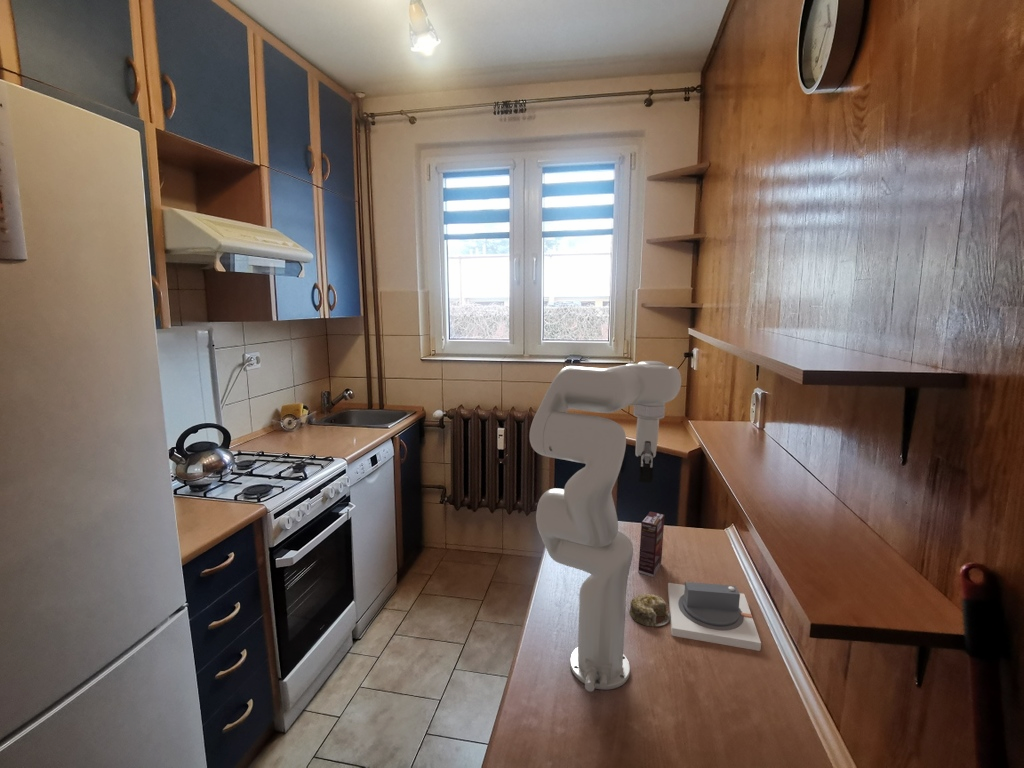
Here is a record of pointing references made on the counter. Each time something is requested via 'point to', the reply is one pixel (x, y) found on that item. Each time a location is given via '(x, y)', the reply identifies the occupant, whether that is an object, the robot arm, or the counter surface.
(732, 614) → the dial
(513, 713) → the counter surface
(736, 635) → the dial plate
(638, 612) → the cake
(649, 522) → the supplement box
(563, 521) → the robot arm
